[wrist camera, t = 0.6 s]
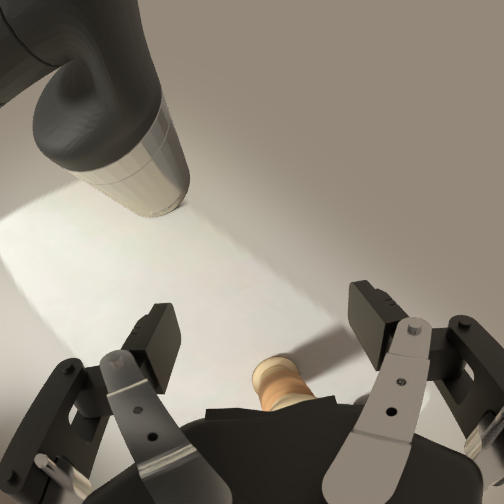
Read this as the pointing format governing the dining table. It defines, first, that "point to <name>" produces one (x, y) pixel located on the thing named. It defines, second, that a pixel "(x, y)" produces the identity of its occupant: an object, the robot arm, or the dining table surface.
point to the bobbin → (279, 384)
